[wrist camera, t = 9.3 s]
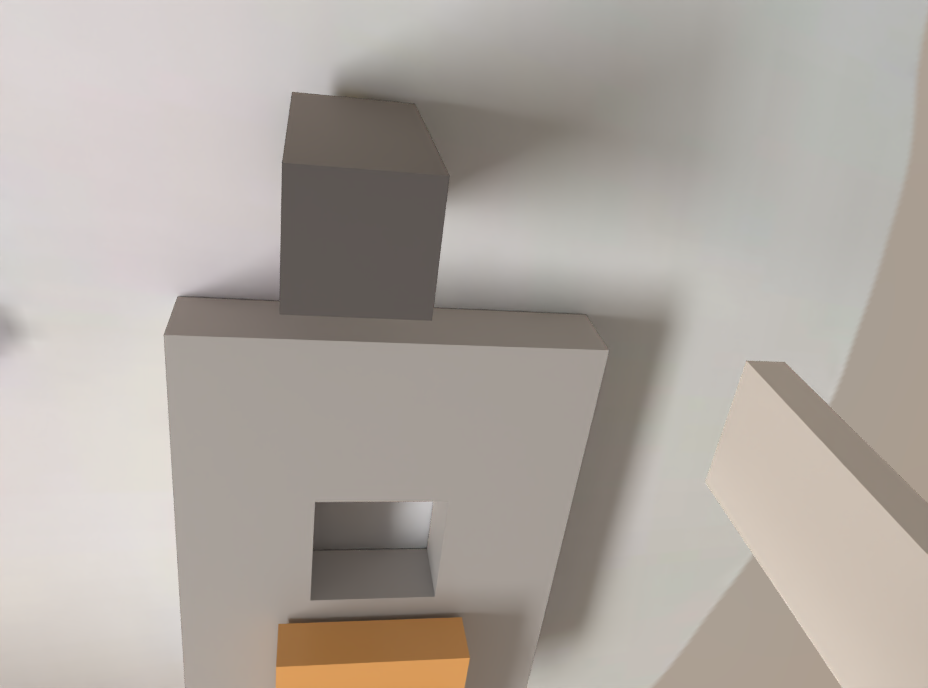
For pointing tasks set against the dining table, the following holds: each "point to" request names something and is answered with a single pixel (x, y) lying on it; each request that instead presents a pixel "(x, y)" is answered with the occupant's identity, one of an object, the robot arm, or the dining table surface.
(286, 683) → the orange ridged block
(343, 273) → the plug
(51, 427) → the dining table surface
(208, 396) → the socket plate
